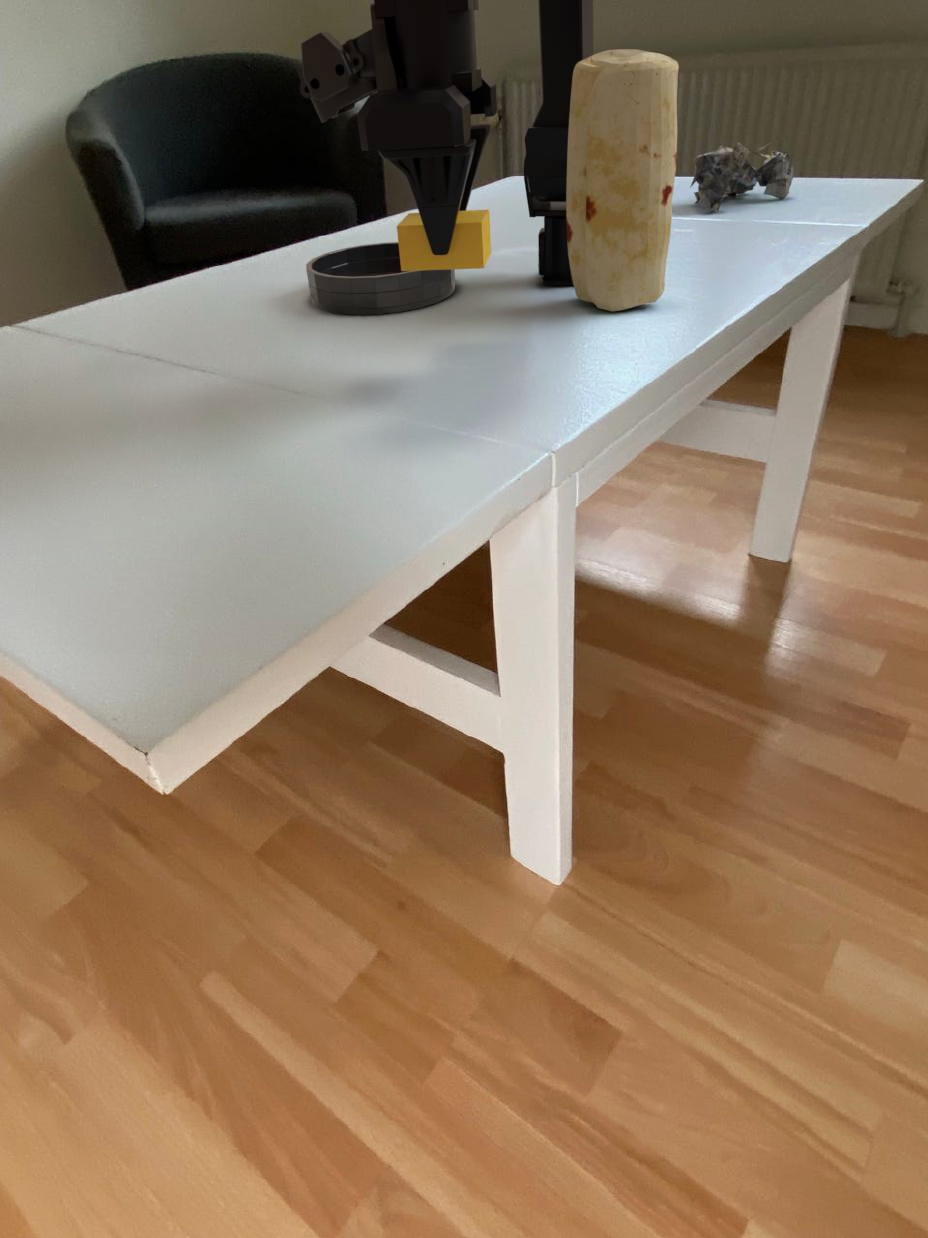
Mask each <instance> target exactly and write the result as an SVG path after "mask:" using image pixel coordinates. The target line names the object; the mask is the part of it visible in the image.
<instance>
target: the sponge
mask: <svg viewBox="0 0 928 1238" xmlns="http://www.w3.org/2000/svg"><path fill="white" fill-rule="evenodd" d="M490 218H491V217H490V209H474V210H473V209H472V210H471V209H469V210H466V211H459V214H458V218H457V222H456V226H455V230H454V234H453V238H452V241H451V245H450V249H449V252H448V254H446V255H434V254H433V253H432V251H431V248H430V244H429V241H428V238H427V235H426V232H425V229H424V226H423V223H422V220H421V217H420V214H419V212H409V213H408V214H407V215H406V216H405V217H404V218H403V219H402V220H401V221H400V222H399V223H398V224H397V225H396V234H397V242H398V244H399V253H400V263H401V271H420V270H448V269H454V270H473V269H474V270H475V269H476V270H477V269H484V268H486V267H485V266H486V265H487V263H488V260H489V258H490V256H491V254H492V247H491V246H492V245H491V244H492V243H491V220H490Z"/></svg>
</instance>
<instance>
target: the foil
mask: <svg viewBox="0 0 928 1238" xmlns="http://www.w3.org/2000/svg"><path fill="white" fill-rule="evenodd" d="M772 143H773V141H771V142H769V143H767V144H765V145H763V146H761V147H759V148H757V150H758V151H762V150H763V149H765V148H766V147H767V146H769V145H770V144H772ZM728 146H729V147H728ZM733 147H734V148H731V147H730V144H729V145H728V144H727V145H726V147H725V146H724V145H723V144H720V146H718V149H714V150H712V151H710V152H706V153H703V154H698V155H697V156H696V155H695V156H693V159H692V160H693V162H694V170H695V171H694V172H695V174H694V177H693V179H692V181H691V185H690V186H689V189H691V188H692V187H693V186H694V184H695V183H697V184H698V187H697V189H698V191H693V194H694V196H695V199H696V201H695V202H694V204H696V205H698V206H699V207H700V208H701V207H703V208H704V209H707V210H709V212H708V213H707V214H713V213H715V212H716V211H717V212H719V210H720V208H721V206H722V203H723V201H724V199H725V197H726V196H727V197H728V198H730V199H733V200H735V199H736V198H737V195H743V194H744V195H745V194H746V193H747V192H750V191H753V190H754V187H756V185H757V183H758V186H759V187H765V189H764V191H763V195H766V196H772V197H774V198H777V199H779V200H785V198H787V196H788V195H789V194H790V188H791V185H792V183H793V180H794V176H795V168H794V165H793V163H792V160H791V158H790V156H789V154H788V152H786V151H783V152H780V151H775V150H772V151H771V154H765V153H760V152H753V151H749V149H748V148H746V147H745V146H744V145H743V144H741V142H740V141H738V142H736V143H735V145H734V146H733ZM749 154H754V155H757V156H759V157H762V158H766V159H765V160H763V165H762V166H760V167H759V168H756V167H754V166H752V165H751V163H750V162H749V161H748V159H747V158H748V156H749ZM788 159H789V160H788Z"/></svg>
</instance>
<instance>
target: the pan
mask: <svg viewBox="0 0 928 1238" xmlns="http://www.w3.org/2000/svg"><path fill="white" fill-rule="evenodd" d="M305 267H306V268H305V269H306V277H307V282H308V288H309V293H310V298H311V304H313V306H314V307H316V308H317V309H319V310H321V311H324V312H327V313H332V314H339V315H348V316H349V315H350V316H371V315H373V316H374V315H375V316H376V315H385V314H393V313H394V314H396V313H402V312H408V311H412V310H413V311H414V310H417V309H421V308H425V307H428V306H432V305H435V304H437V303H439V302H442V301H444V300H446V299H447V298H449V297H450V296H452V295H453V294H454V292H455V290H456V273H455V271H456V269H448V270H420V271H401V263H400V253H399V244H398V241H392V242H391V241H389V242H375V243H367V244H361V245H355V246H354V245H353V246H349V247H343V248H340V249H336V250H332V251H328V252H325V253H323V254H321V255H318V256H316V257H313V258H311V260H309V261H308V262H307V263H306V264H305Z"/></svg>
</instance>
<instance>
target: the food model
mask: <svg viewBox="0 0 928 1238" xmlns="http://www.w3.org/2000/svg"><path fill="white" fill-rule="evenodd" d="M679 75H680V65H679V62H678V61H677V60H675V59H674V58H672V57H670V56H668V55H665V54H662V53H659V52H652V51H648V50H647V51H646V50H642V49H635V48H633V49H631V48H622V49H621V48H619V49H608V50H604V51H600V52H597V53H595V54H593V55H592V56H590V57H588V58H586V59H584V60H582V61H580V62H578V63H577V64H576V66H575V68H574V71H573V78H572V89H571V101H570V116H569V131H568V152H567V188H566V213H567V242H568V256H569V263H570V270H571V275H572V280H573V284H572V285H573V288H574V292H575V295H576V298H577V299H579V300H580V301H585V302H589V303H593V304H594V305H595V306H596V308H597V309H601V310H604V311H608V312H611V313H614V312H619V311H624V310H628V309H632V308H635V307H638V306H642V305H648V304H652V303H655V302H657V301H658V300H659V299H660V298H661V296H662V295H663V293H664V291H665V287H666V269H667V260H668V253H669V246H670V241H671V230H672V218H673V217H672V215H673V199H674V198H673V197H674V189H675V177H676V170H677V156H678V155H677V153H678V87H679V86H678V85H679Z"/></svg>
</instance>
